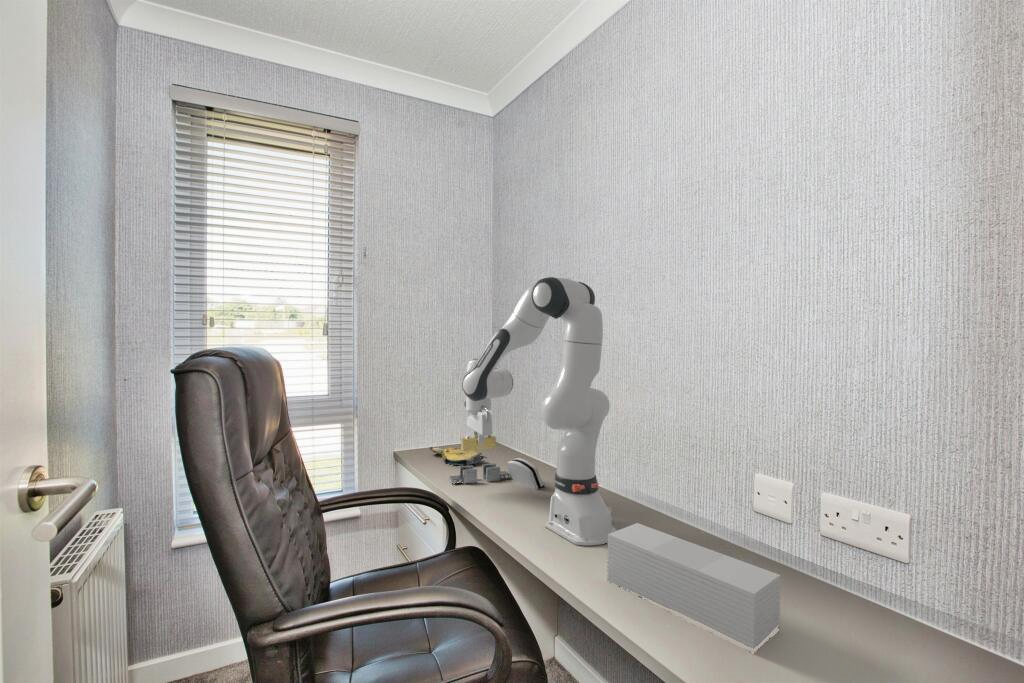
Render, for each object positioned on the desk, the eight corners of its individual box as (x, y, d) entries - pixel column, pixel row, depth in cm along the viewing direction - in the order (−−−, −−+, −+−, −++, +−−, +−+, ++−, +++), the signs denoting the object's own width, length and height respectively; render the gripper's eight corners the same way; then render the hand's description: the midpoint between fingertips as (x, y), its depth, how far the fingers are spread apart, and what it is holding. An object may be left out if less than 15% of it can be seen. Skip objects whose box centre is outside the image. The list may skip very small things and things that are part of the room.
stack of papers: (607, 582, 109) (607, 534, 109) (636, 568, 116) (636, 522, 115) (753, 655, 84) (754, 593, 84) (779, 632, 91) (780, 574, 91)
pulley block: (445, 438, 227) (488, 449, 205) (446, 450, 227) (489, 463, 206) (420, 447, 217) (462, 460, 196) (421, 459, 218) (463, 474, 196)
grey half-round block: (546, 487, 175) (539, 462, 173) (536, 494, 173) (529, 468, 171) (520, 475, 189) (513, 452, 187) (510, 481, 187) (503, 458, 185)
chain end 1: (476, 483, 179) (476, 469, 179) (452, 485, 176) (453, 471, 176) (472, 478, 185) (472, 465, 185) (449, 480, 182) (449, 467, 182)
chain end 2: (509, 479, 184) (510, 466, 184) (487, 482, 181) (487, 468, 181) (504, 475, 190) (504, 462, 190) (482, 477, 186) (482, 464, 186)
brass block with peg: (496, 448, 172) (496, 434, 172) (463, 451, 168) (463, 437, 168) (493, 447, 174) (493, 433, 174) (461, 449, 170) (461, 435, 170)
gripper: (497, 407, 162) (497, 449, 162) (479, 400, 181) (479, 438, 181) (478, 408, 160) (478, 451, 160) (462, 401, 179) (462, 439, 179)
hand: (478, 444), depth 171 cm, fingers closed on brass block with peg, 2 cm apart
